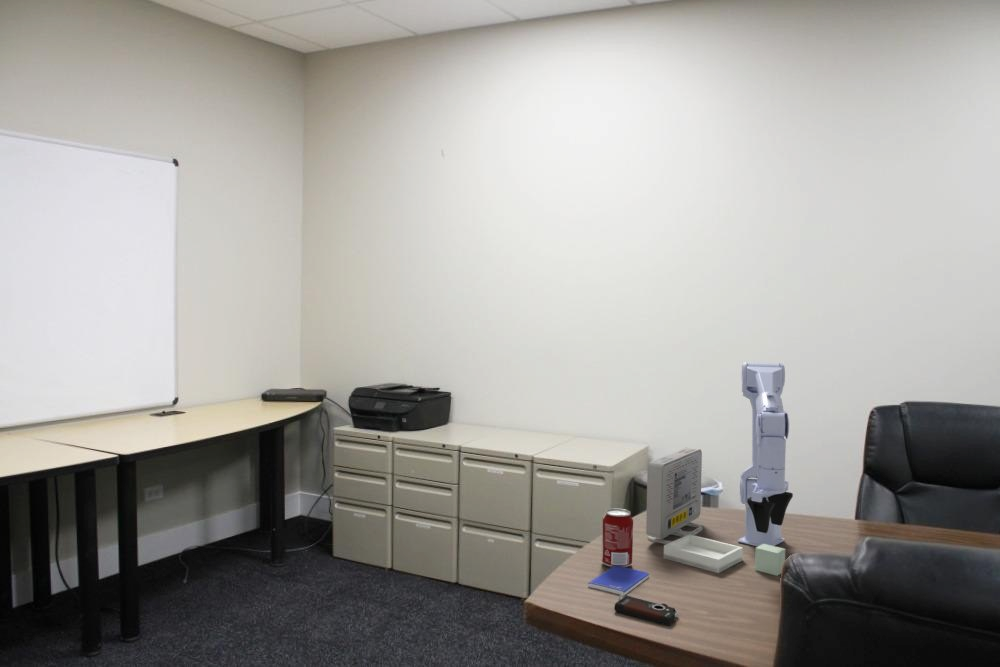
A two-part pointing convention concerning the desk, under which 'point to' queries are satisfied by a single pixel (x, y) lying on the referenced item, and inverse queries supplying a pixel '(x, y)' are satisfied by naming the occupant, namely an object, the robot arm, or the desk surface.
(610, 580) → the hard drive
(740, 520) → the desk surface
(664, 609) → the camera
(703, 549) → the desk bin
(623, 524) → the soda can
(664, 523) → the network device
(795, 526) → the desk surface
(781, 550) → the sage block
